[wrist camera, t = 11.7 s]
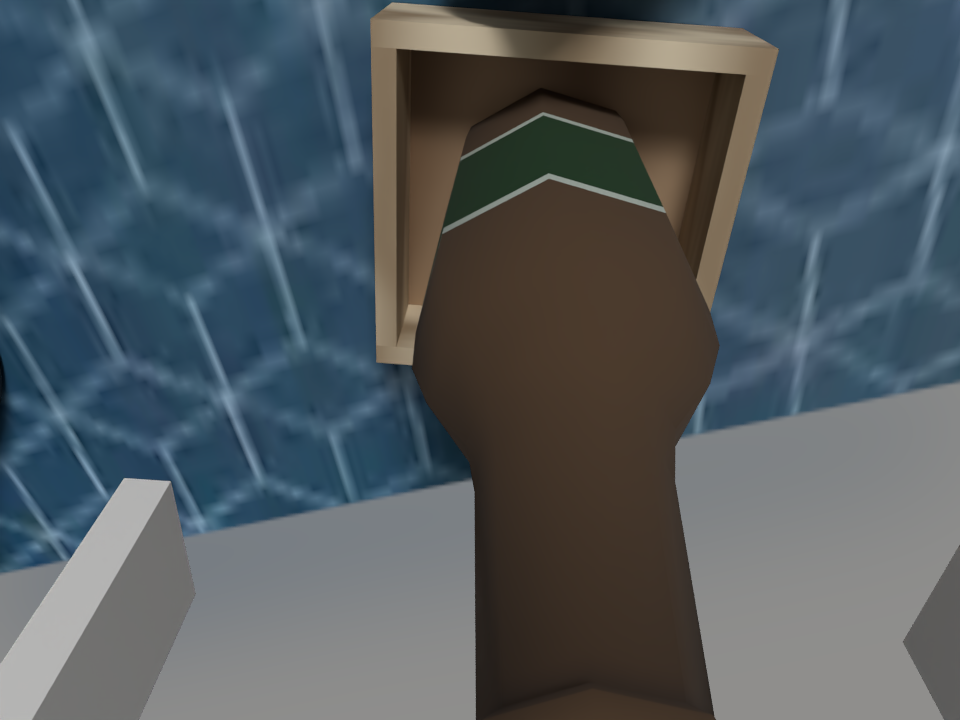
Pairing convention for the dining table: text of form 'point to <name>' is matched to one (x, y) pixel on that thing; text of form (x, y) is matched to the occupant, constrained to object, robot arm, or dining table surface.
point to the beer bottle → (570, 414)
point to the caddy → (569, 71)
